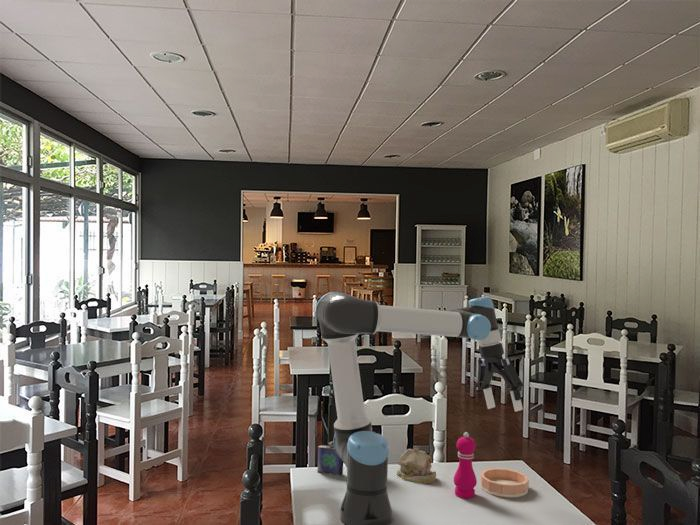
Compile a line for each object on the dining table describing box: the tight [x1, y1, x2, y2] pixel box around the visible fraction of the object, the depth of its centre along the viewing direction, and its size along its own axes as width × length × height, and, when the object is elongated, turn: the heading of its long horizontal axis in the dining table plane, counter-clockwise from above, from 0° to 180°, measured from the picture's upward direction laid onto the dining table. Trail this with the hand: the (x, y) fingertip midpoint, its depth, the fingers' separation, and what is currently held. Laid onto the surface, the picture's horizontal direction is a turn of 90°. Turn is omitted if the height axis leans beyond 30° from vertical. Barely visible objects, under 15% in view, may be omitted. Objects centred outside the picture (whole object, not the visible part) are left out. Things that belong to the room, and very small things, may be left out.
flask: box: [316, 441, 344, 476], centre depth 209 cm, size 9×3×11 cm, turn 72°
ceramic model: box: [396, 447, 437, 484], centre depth 208 cm, size 14×11×10 cm
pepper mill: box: [453, 431, 478, 499], centre depth 192 cm, size 7×7×20 cm
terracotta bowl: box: [479, 467, 530, 499], centre depth 198 cm, size 15×15×4 cm
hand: (504, 409), depth 194 cm, fingers open, 13 cm apart
